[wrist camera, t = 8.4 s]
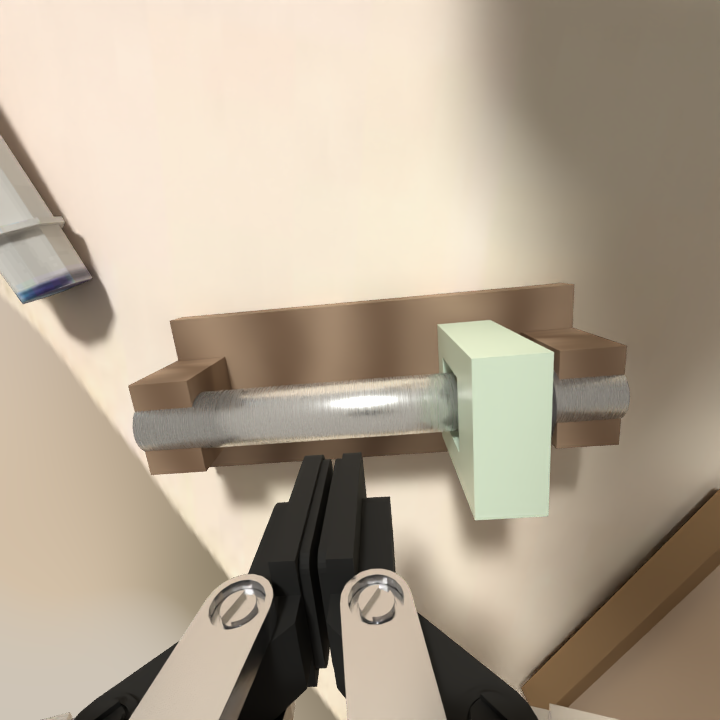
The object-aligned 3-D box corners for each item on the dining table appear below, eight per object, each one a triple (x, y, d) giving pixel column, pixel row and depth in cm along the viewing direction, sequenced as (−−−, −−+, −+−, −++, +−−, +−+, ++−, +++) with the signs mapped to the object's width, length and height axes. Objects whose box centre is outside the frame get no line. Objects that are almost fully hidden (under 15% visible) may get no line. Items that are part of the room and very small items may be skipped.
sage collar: (442, 435, 24) (474, 520, 16) (437, 324, 22) (471, 358, 14) (491, 432, 23) (548, 516, 16) (490, 319, 22) (554, 352, 14)
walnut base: (211, 456, 27) (161, 515, 21) (181, 317, 25) (115, 336, 18) (556, 433, 26) (615, 489, 19) (561, 283, 23) (631, 291, 17)
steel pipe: (182, 443, 23) (134, 488, 19) (165, 369, 22) (109, 397, 18) (582, 415, 22) (637, 456, 17) (586, 334, 21) (648, 355, 16)
